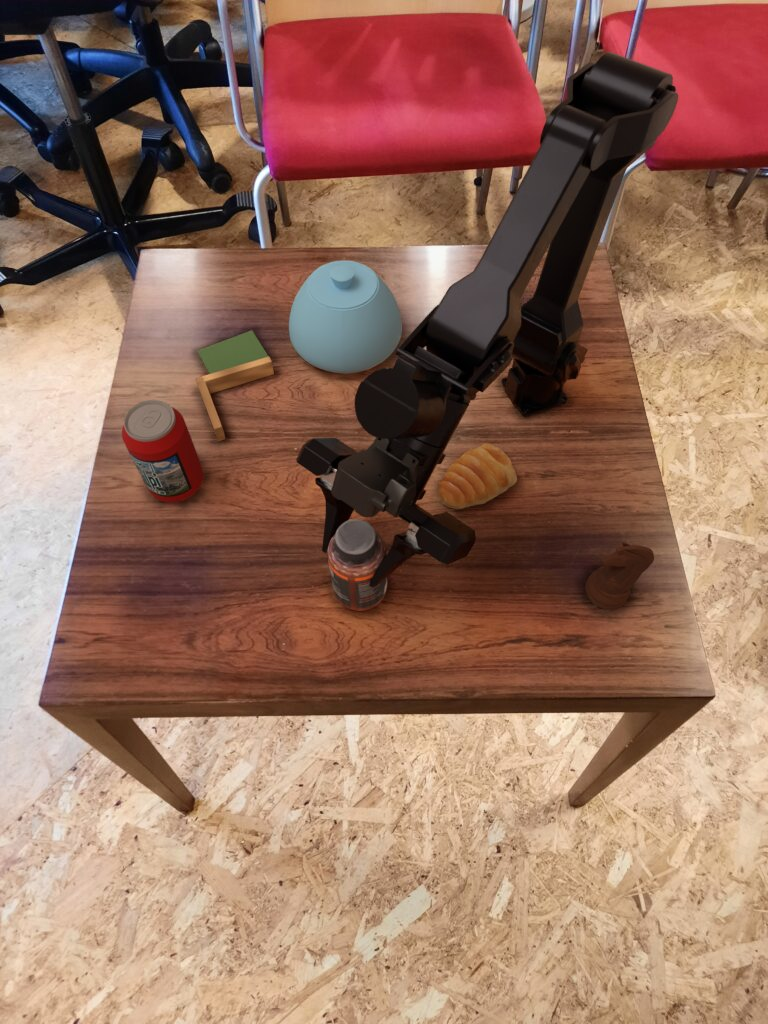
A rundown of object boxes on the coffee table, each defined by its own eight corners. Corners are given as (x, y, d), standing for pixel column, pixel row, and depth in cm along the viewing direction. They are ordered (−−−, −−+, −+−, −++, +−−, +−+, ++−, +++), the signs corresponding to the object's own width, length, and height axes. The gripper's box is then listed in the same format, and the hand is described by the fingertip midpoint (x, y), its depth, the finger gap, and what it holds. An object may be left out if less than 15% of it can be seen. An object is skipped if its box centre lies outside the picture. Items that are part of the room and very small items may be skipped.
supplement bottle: (398, 582, 81) (399, 530, 71) (365, 623, 78) (362, 575, 68) (354, 554, 82) (349, 500, 73) (321, 593, 80) (312, 542, 70)
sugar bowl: (311, 292, 104) (303, 222, 95) (413, 312, 102) (416, 243, 92) (275, 368, 97) (262, 301, 87) (384, 391, 95) (384, 325, 85)
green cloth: (252, 331, 100) (252, 329, 100) (270, 360, 98) (269, 358, 97) (197, 352, 99) (196, 350, 98) (213, 382, 96) (213, 380, 96)
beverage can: (137, 495, 87) (103, 433, 76) (167, 452, 90) (138, 387, 80) (187, 513, 85) (160, 452, 75) (215, 469, 89) (193, 405, 78)
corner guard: (271, 369, 97) (269, 356, 95) (293, 417, 93) (291, 404, 91) (199, 391, 95) (195, 378, 93) (218, 441, 91) (214, 429, 89)
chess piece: (582, 571, 81) (605, 526, 73) (628, 572, 81) (657, 527, 73) (587, 609, 79) (612, 567, 70) (635, 610, 79) (665, 568, 70)
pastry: (461, 526, 84) (464, 508, 81) (423, 488, 87) (424, 470, 84) (520, 483, 87) (525, 465, 84) (481, 448, 90) (484, 429, 87)
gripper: (298, 381, 65) (232, 527, 70) (470, 491, 59) (384, 644, 64) (359, 388, 75) (297, 515, 80) (511, 483, 69) (434, 615, 74)
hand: (348, 568), depth 74 cm, fingers closed on supplement bottle, 6 cm apart
